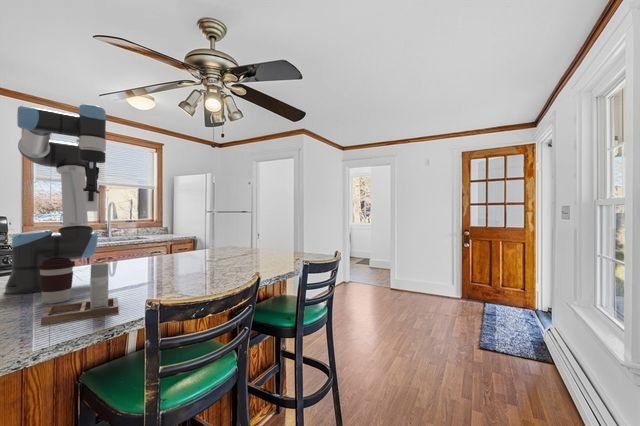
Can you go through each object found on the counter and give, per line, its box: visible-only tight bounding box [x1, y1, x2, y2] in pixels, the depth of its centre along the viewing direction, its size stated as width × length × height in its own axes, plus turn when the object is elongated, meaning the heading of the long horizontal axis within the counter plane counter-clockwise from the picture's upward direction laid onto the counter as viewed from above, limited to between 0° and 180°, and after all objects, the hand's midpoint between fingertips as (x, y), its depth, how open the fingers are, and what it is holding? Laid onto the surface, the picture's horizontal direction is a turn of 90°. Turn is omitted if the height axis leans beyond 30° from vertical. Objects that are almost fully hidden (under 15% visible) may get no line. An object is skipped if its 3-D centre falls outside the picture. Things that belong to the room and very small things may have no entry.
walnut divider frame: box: [40, 296, 119, 326], centre depth 94 cm, size 12×18×2 cm, turn 125°
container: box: [89, 262, 109, 310], centre depth 96 cm, size 5×5×15 cm
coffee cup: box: [37, 257, 76, 305], centre depth 105 cm, size 10×10×15 cm
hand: (91, 211), depth 105 cm, fingers open, 13 cm apart
